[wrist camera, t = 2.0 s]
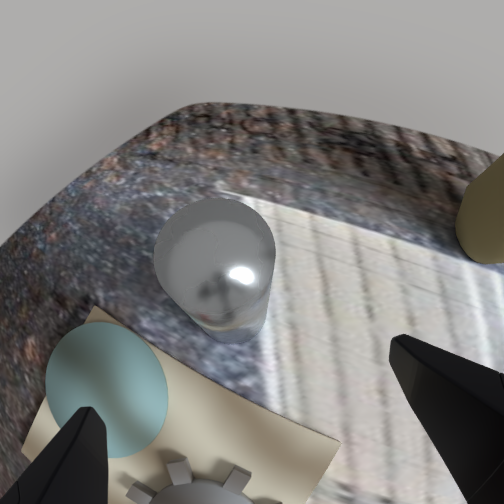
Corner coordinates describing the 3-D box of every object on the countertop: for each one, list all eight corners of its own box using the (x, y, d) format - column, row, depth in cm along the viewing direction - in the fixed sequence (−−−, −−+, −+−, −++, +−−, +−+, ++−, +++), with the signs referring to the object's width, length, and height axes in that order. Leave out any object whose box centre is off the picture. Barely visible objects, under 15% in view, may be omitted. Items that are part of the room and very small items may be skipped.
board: (240, 588, 14) (237, 616, 10) (18, 446, 18) (-13, 450, 14) (345, 443, 19) (364, 455, 15) (91, 301, 23) (64, 286, 19)
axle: (246, 356, 21) (236, 336, 11) (186, 323, 22) (131, 274, 12) (278, 297, 23) (296, 228, 13) (220, 267, 24) (194, 182, 14)
